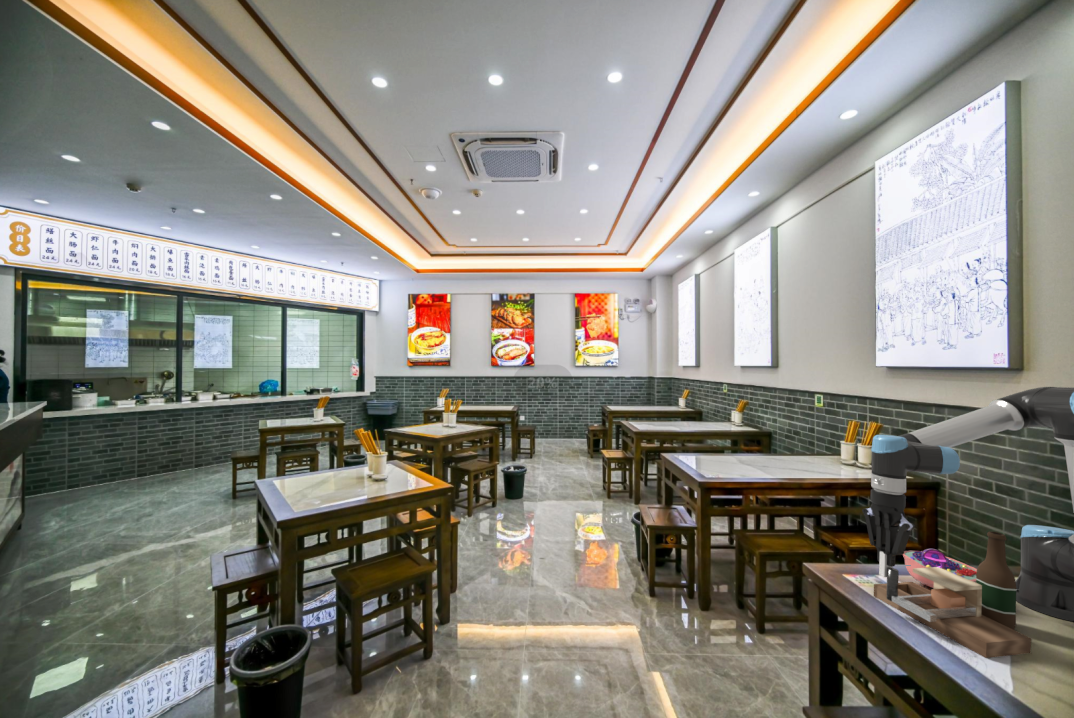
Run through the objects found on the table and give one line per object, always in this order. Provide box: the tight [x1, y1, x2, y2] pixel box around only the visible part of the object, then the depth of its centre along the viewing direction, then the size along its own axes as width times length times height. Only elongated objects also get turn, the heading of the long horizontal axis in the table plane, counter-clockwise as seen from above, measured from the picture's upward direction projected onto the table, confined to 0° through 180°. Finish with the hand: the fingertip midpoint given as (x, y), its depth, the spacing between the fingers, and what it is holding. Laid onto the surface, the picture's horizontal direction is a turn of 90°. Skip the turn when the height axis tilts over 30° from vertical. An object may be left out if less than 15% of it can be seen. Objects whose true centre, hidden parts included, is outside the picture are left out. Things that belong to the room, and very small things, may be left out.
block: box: [930, 588, 965, 609], centre depth 111 cm, size 5×4×4 cm
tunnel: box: [913, 567, 982, 617], centre depth 112 cm, size 9×10×8 cm
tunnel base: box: [873, 581, 1032, 659], centre depth 111 cm, size 14×26×4 cm, turn 11°
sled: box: [886, 567, 976, 622], centre depth 111 cm, size 16×11×8 cm
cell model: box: [902, 548, 977, 589], centre depth 128 cm, size 17×20×11 cm
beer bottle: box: [976, 530, 1017, 631], centre depth 112 cm, size 8×8×24 cm
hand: (885, 575), depth 116 cm, fingers closed
